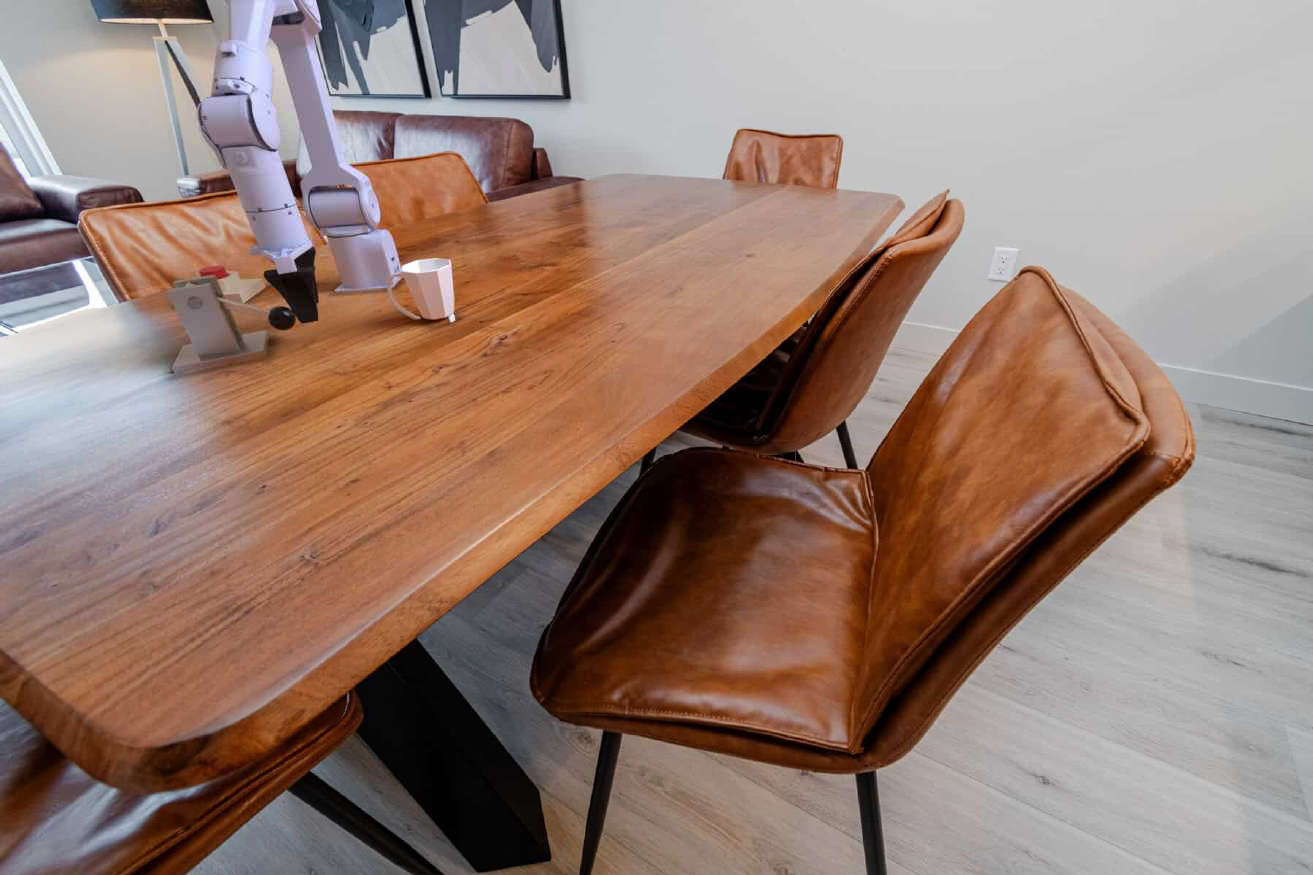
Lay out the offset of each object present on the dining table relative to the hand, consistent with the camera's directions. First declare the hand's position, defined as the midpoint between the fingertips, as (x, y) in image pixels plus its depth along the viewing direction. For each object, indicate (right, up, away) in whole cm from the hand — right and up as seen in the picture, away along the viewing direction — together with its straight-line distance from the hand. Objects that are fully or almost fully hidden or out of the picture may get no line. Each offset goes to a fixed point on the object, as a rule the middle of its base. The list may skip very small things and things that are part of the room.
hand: (310, 312), depth 81 cm
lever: (-7, -2, -3) cm, 8 cm away
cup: (+14, 0, +5) cm, 15 cm away
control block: (-25, +6, +19) cm, 32 cm away
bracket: (-10, -6, -2) cm, 12 cm away
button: (-26, +9, +17) cm, 32 cm away
